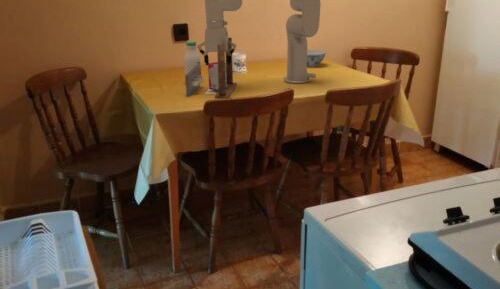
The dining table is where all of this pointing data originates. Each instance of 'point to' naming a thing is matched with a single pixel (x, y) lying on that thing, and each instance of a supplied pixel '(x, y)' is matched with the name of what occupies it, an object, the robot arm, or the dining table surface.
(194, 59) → the milk bottle
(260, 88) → the dining table surface
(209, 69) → the supplement box
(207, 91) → the pad
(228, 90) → the gate
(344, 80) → the dining table surface
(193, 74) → the panel
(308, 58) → the chinaware
